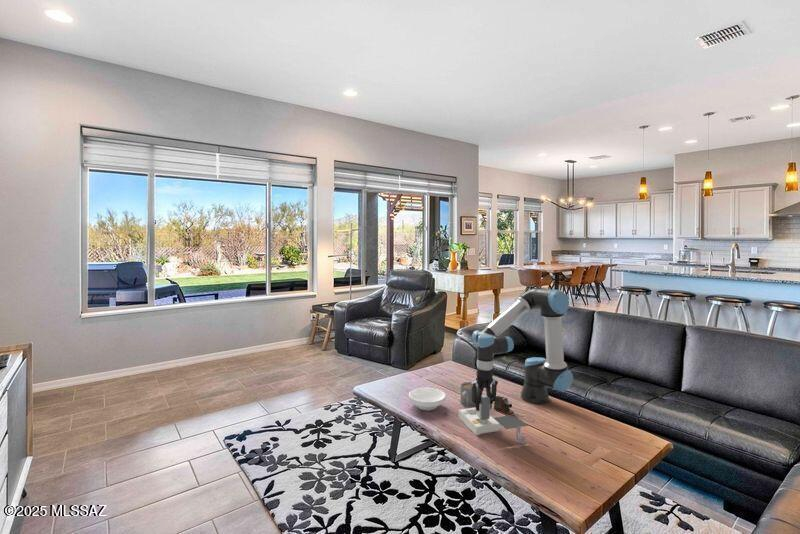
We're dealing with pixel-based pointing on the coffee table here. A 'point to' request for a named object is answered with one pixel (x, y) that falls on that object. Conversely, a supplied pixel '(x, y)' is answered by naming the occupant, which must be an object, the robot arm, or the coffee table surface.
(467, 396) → the coffee mug
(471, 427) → the socket block
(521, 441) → the architectural model
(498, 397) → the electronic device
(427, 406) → the bowl
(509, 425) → the mat
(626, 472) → the coffee table surface
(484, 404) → the plug
